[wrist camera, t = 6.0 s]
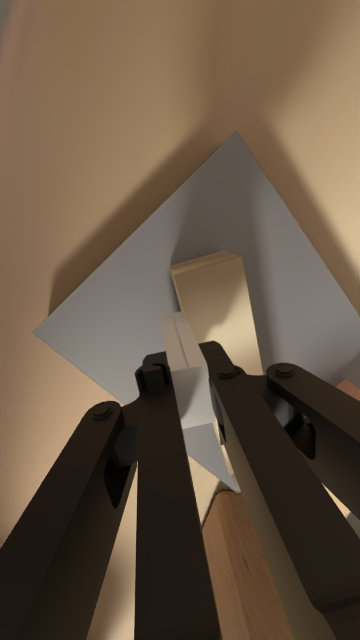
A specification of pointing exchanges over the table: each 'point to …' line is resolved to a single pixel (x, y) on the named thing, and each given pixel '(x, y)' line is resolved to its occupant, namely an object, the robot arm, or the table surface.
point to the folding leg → (219, 312)
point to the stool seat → (196, 241)
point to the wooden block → (241, 574)
